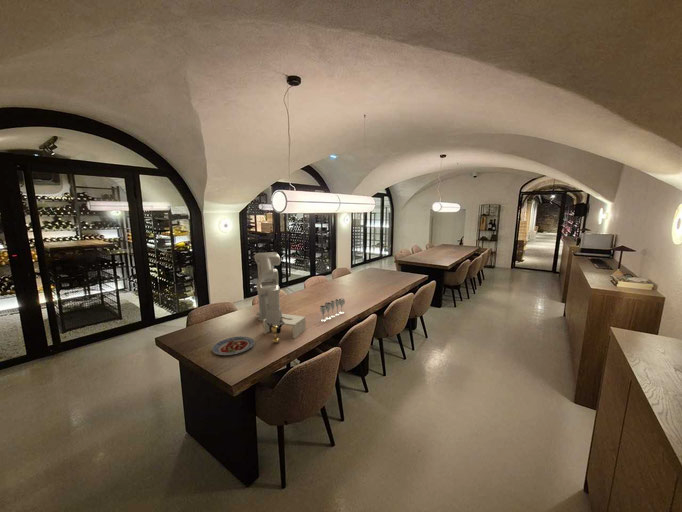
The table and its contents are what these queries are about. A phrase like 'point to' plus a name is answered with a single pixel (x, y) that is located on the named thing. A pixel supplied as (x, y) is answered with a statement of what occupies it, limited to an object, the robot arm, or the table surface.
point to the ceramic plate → (233, 345)
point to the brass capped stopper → (274, 331)
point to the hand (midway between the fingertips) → (275, 332)
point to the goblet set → (331, 305)
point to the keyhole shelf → (290, 324)
